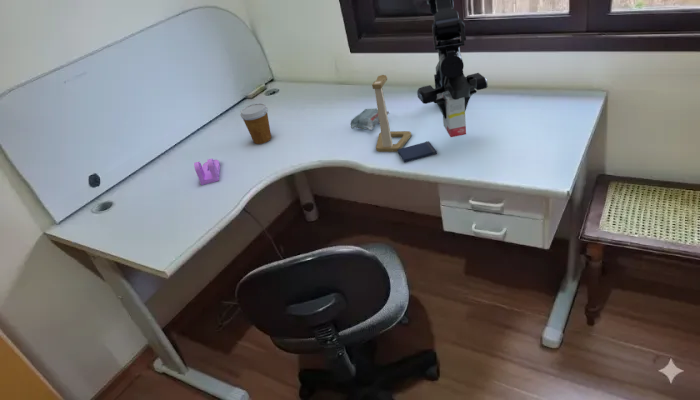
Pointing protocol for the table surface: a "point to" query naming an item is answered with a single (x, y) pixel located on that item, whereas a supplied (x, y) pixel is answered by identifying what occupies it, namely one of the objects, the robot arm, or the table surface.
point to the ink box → (454, 115)
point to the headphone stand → (386, 122)
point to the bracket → (205, 174)
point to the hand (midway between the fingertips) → (454, 115)
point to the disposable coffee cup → (257, 122)
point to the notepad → (417, 151)
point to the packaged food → (366, 119)
